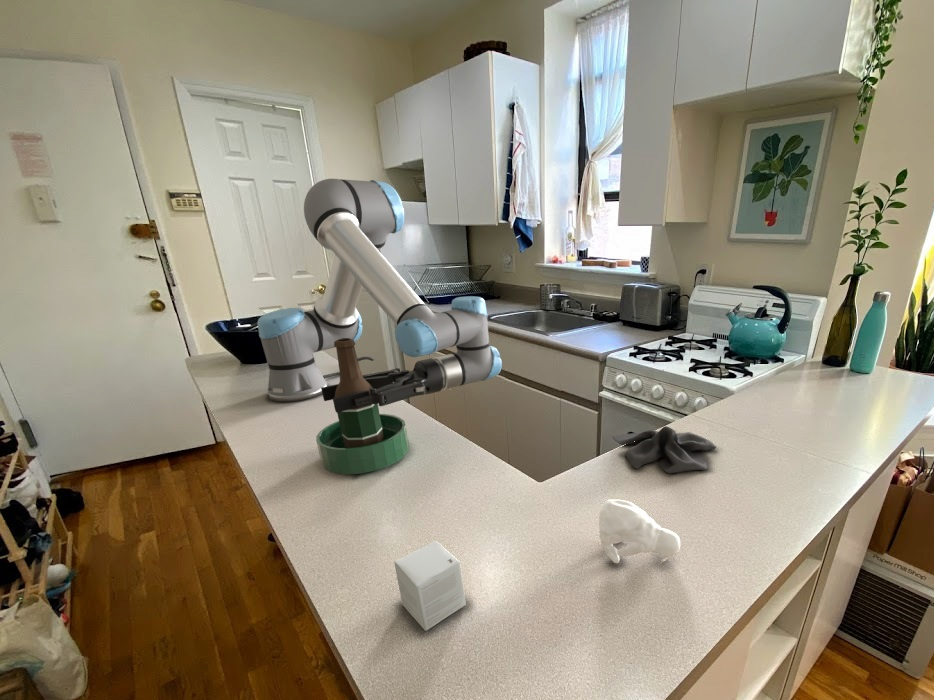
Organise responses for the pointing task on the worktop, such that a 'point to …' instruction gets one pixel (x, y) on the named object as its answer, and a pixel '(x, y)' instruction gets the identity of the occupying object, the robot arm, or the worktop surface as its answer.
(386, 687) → the worktop surface
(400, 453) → the green bowl
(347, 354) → the beer bottle
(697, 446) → the cloth
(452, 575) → the product box
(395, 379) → the robot arm
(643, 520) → the white irregular figure
